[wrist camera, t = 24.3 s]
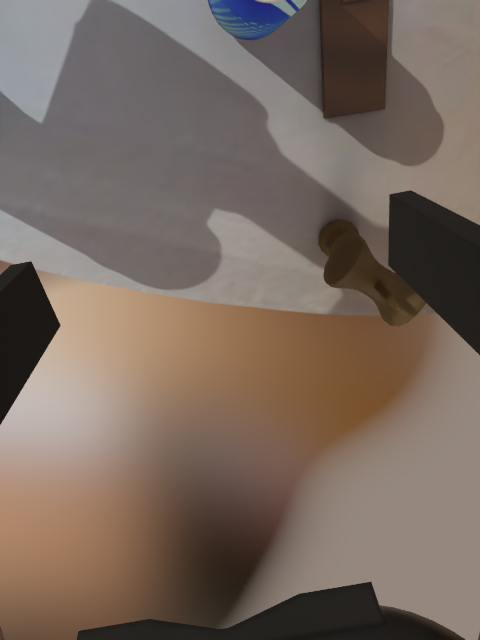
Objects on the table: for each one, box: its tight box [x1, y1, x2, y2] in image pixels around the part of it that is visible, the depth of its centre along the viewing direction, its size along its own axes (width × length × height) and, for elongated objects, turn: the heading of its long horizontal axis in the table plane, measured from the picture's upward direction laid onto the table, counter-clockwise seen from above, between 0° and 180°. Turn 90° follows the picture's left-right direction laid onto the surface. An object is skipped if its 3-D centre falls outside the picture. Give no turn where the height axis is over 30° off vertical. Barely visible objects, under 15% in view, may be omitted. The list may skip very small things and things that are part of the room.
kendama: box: [319, 220, 426, 326], centre depth 45 cm, size 6×10×20 cm, turn 57°
